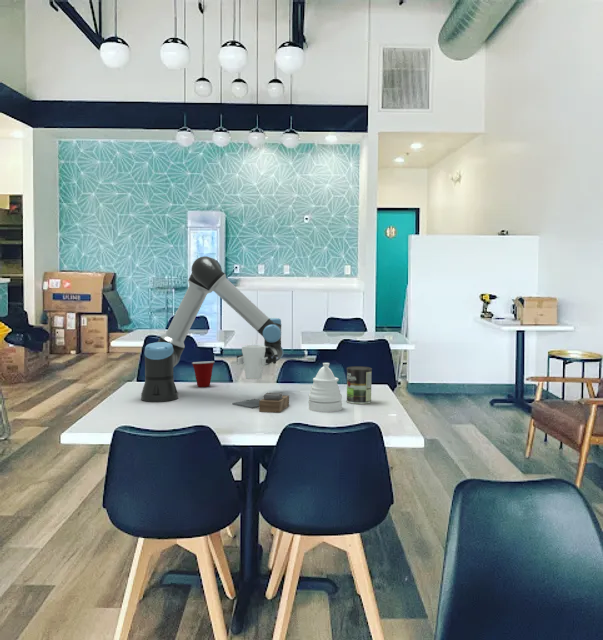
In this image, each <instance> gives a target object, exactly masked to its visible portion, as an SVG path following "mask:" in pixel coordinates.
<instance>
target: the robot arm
mask: <svg viewBox="0 0 603 640" xmlns="http://www.w3.org/2000/svg"><path fill="white" fill-rule="evenodd" d="M190 270H191V274H190V275H189V278H188V279H187V281H188V284H189V285H188V288H187V290H186V292H185V294H184V296H183V298H182V300H181V301H180V304H179V305H178V308H177V310H176V312H175V314H174V315H173V318H172V320H171V322H170V324H169V326H168V329H167V330H166V333H164V334H161V335H160V337H159V338H158V341H156V342H152V343H148V344H146V346H144V351H143V352H144V354H143V355H144V376H145V377H144V385H143V387H142V391H141V393H140V398H141V401H144V402H150V403H151V402H169V401H174V400H177V399H178V398H179V394H178V392H179V391H178V390H177V386H176V384H175V379H174V368H175V367H176V366H177V365H178V364H179V362H180V361H181V355H182V354H183V351H184V349H185V346H186V345H185V340H186V337H187V336H188V334H189V331H190V329H191V327H192V325H193V323H194V322H195V319H196V317H197V315H198V313H199V311H200V309H201V308H202V306H203V303H204V301H205V299H206V297H207V295H208V294H210V293H212V292H214V293H215V294H216V295H217V296H219V298H220V299H222V300H223V301H224V303H226V304H227V305H228V306H229V307H230V308H232V309H233V311H235V312H236V314H238V315H239V316H240V317H241V318H242V319H243V320H244V321H246V322H247V323H248V324H249V325H250V326H251V327H252V328H253V329H254V330H255V331H256V332H257V333H258V334H259V335H261V337H263V340H264V343H263V344H264V345H263V346H265V356H264V358H262V359H261V366H263V367H264V366H270V364H274V365H275V364H277V362H278V361H280V360H281V359H282V357H283V356H284V349H283V347H282V319H281V318H280V317H279V318H277V317H273V318H272V317H271V318H270V317H268V316H267V315H266V314H265V313H264V312H263V311H262V310H261V309H260V308H259V307H258V306H257V305H256V304H254V303H253V301H251V300H250V299H249V297H247V296H246V295H245V294H244V293H243V292H242V291H240V289H238V288H237V287H236V286H235V285H234V284H233V283H232V282H231V281H230V280H229V279H228V278H227V276H226V275H227V274H226V273H225V272H224V271H223V268H222V266H221V264H220V262H219V261H218V259H217V260H216V259H215V258H213V257H210V256H200V257H198V258H196V259H195V260H194V261H193V263H192V265H191V269H190ZM236 363H237V364H236V366H237V365H238V366H239V365H244V361H243V354H241V355H236Z"/></svg>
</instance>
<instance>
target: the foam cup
mask: <svg viewBox="0 0 603 640" xmlns="http://www.w3.org/2000/svg"><path fill="white" fill-rule="evenodd" d="M241 353H242V355H243V361H244V363H243V367H244V375H245V379H246V380H252V381H253V380H261V379H262V377H263V370H264V366H261V359H262V358H264V356H265V346H264V345H262V344H246V345H241Z"/></svg>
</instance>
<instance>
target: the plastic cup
mask: <svg viewBox="0 0 603 640" xmlns="http://www.w3.org/2000/svg"><path fill="white" fill-rule="evenodd" d="M214 364H215V361H214V360H211V361H208V360H207V361H193V362H191V365H192V367H193V371H194V376H195V380H196V385H197V387H198V388H207V387H210V386H211V379H212V376H213V375H212V373H213V368H214Z"/></svg>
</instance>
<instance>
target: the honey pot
mask: <svg viewBox="0 0 603 640" xmlns="http://www.w3.org/2000/svg"><path fill="white" fill-rule="evenodd" d="M330 365H331V364H330V362H322V367H320V368H319V370H318V371H317V373H316V375H315V377H313V378H312V381H313V383H312V386H311V388H310V392H309V394H308V410H309V411H312V412H319V413H333V412H339V411H342V408H343V403H342V402H343V401H342V398H343V397H342V394H341V389H340V386H339V384H338V382H339V379H340V378H338V377H336V376H335V375H334V373H333V371H332V369H331V368H330Z"/></svg>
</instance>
